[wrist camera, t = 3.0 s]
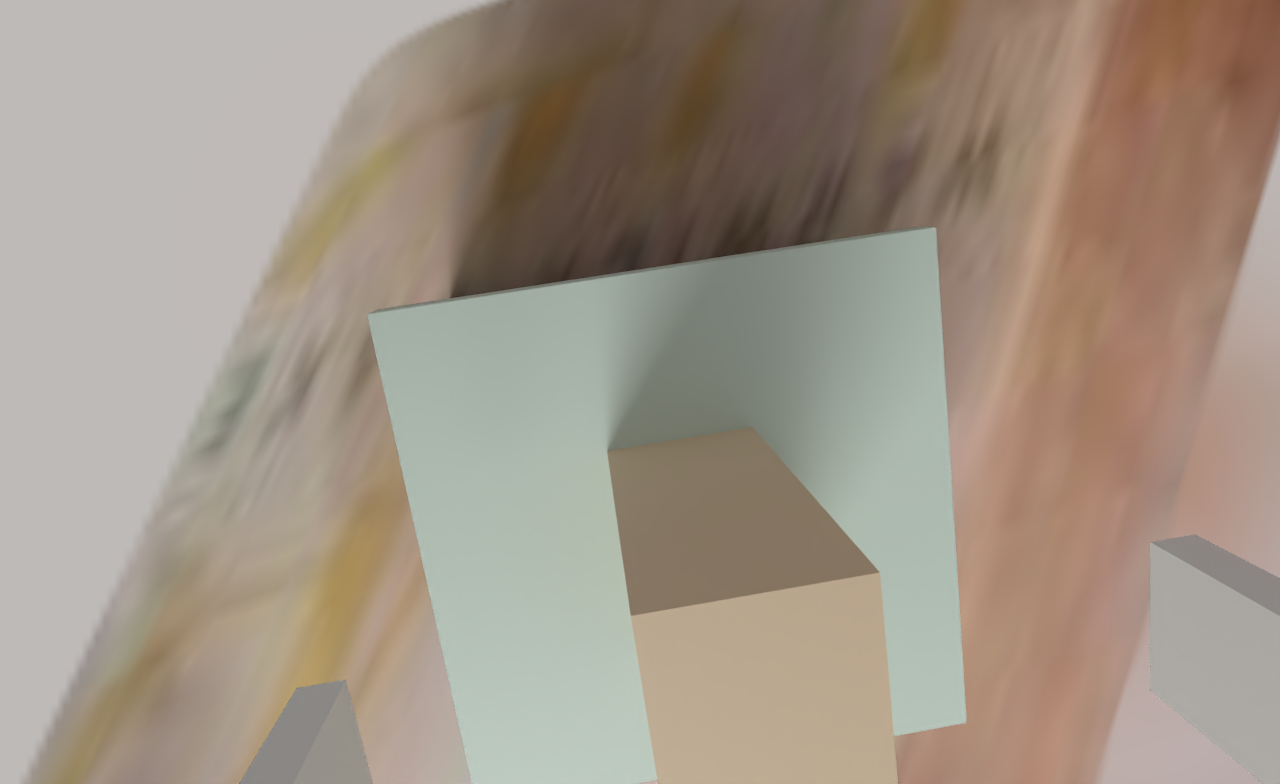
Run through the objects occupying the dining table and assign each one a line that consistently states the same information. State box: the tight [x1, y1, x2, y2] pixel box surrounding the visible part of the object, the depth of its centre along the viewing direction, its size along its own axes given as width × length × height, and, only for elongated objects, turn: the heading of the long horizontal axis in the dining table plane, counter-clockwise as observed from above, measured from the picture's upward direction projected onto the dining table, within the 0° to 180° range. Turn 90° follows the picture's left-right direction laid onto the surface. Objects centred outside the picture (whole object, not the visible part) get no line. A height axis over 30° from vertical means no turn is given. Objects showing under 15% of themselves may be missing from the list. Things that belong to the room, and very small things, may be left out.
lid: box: [367, 227, 967, 784], centre depth 16 cm, size 13×13×10 cm
